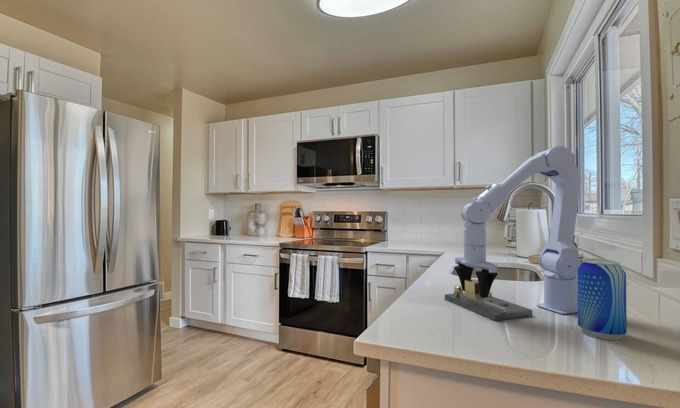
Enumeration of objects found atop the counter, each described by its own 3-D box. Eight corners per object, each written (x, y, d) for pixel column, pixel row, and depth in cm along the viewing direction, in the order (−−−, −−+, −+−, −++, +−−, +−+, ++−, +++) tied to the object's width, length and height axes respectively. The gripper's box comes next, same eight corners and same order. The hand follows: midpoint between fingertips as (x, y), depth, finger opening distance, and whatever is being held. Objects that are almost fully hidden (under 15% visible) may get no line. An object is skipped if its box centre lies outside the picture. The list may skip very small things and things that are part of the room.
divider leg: (486, 296, 96) (486, 278, 96) (497, 300, 92) (497, 281, 92) (464, 298, 94) (464, 280, 94) (474, 302, 90) (474, 283, 90)
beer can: (568, 327, 76) (568, 258, 76) (601, 326, 77) (600, 257, 77) (601, 342, 68) (600, 264, 68) (637, 340, 69) (636, 264, 69)
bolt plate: (477, 296, 103) (477, 283, 104) (532, 315, 84) (532, 300, 85) (444, 299, 100) (444, 286, 100) (494, 320, 81) (494, 304, 81)
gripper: (446, 243, 98) (446, 288, 98) (481, 249, 84) (482, 302, 84) (466, 242, 100) (466, 287, 100) (503, 247, 87) (503, 299, 86)
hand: (474, 293), depth 92 cm, fingers open, 7 cm apart
